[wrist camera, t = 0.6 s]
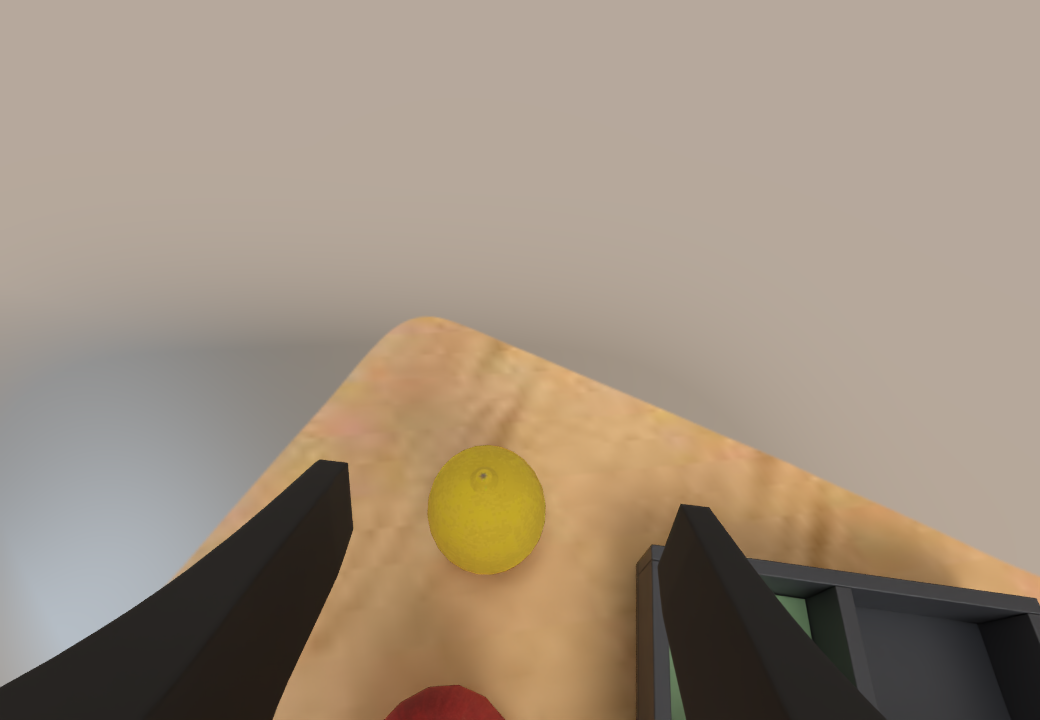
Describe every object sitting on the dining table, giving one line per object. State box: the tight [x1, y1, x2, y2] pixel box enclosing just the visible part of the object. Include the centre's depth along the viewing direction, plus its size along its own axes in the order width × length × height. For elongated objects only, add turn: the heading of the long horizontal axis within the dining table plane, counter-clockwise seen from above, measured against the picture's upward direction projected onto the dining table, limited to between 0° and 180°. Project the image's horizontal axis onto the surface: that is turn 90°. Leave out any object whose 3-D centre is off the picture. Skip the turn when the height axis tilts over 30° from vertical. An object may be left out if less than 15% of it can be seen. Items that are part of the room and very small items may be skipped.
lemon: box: [428, 445, 546, 575], centre depth 24 cm, size 6×6×8 cm
